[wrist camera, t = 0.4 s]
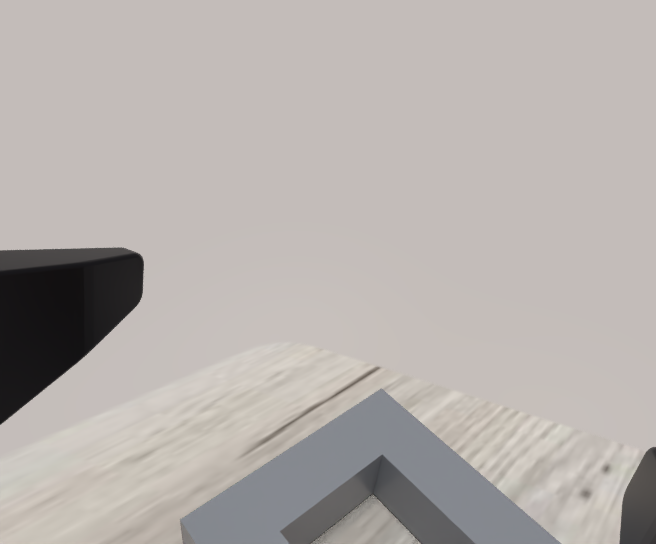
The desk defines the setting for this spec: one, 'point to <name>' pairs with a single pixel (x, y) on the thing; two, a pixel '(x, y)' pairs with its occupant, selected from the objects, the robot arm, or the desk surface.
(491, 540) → the socket
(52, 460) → the desk surface
